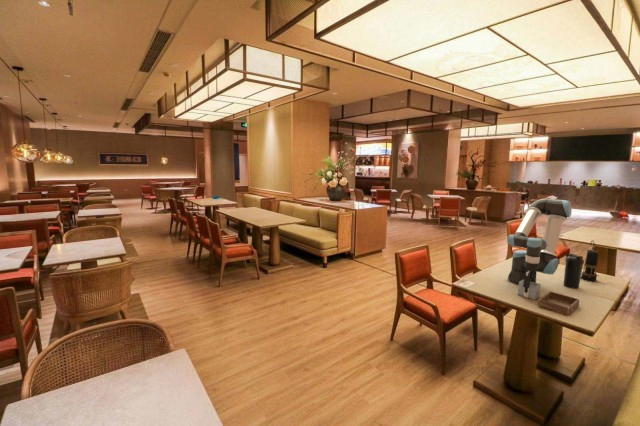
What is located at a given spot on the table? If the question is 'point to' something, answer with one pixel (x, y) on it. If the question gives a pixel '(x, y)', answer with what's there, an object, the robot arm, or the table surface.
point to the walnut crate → (558, 303)
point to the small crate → (530, 290)
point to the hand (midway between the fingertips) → (528, 295)
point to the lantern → (590, 265)
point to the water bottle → (573, 271)
